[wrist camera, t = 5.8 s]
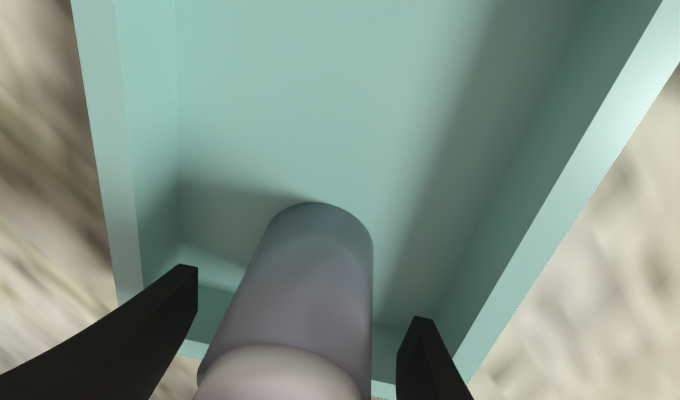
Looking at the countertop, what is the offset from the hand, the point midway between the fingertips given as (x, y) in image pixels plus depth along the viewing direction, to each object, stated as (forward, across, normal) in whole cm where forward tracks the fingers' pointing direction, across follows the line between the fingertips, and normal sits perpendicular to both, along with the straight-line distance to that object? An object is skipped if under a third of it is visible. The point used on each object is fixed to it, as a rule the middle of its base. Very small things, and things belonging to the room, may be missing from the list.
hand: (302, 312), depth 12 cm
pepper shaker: (+3, 0, 0) cm, 3 cm away
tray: (+3, 0, -4) cm, 5 cm away
